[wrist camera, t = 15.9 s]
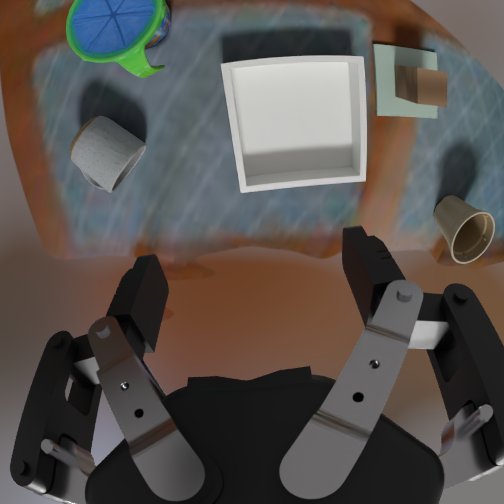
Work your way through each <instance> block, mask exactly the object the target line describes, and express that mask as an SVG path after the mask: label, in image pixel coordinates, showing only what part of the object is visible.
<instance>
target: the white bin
mask: <svg viewBox="0 0 504 504" xmlns="http://www.w3.org/2000/svg"><path fill="white" fill-rule="evenodd" d="M221 69H222V76H223V82H224V88H225V95H226V101H227V108H228V114H229V120H230V127H231V133H232V140H233V146H234V152H235V159H236V165H237V171H238V178H239V184H240V191H241V193H245V192H253V191H262V190H271V189H280V188H289V187H299V186H310V185H321V184H333V183H346V182H361V181H366V152H367V120H366V88H365V71H364V58H363V57H362V56H328V55H324V56H290V57H275V58H263V59H254V60H245V61H237V62H230V63H223V64H221Z"/></svg>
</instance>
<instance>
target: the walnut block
mask: <svg viewBox="0 0 504 504" xmlns="http://www.w3.org/2000/svg"><path fill="white" fill-rule="evenodd" d="M394 72H395V97H398V98H401V99H404V100H407V101H410V102H413V103H416V104H423V105H433V106H441V107H447V73H446V72H441V71H436V70H430V69H423V68H417V67H408V66H398V65H394Z"/></svg>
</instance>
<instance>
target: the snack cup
mask: <svg viewBox="0 0 504 504" xmlns="http://www.w3.org/2000/svg"><path fill="white" fill-rule="evenodd" d="M170 25H171V15H170V11H169V8H168V6H167V4H166V2H165V0H75V1H74V2H73V4H72V6H71V8H70V11H69V14H68V18H67V23H66V34H67V39H68V42H69V44H70V46H71V48H72V49H73V51H74V52H75V53H76V54H77V55H78V56H80V58H81V59H83V60H84V61H91V62H98V63H107V62H117V63H119V64H120V65H121V66H122V67H124V68H125V69H126V70H128V71H129V72H131V73H132V74H134V75H136V76H138V77H140V78H146V77H148V76H150V75H151V74H154V73H155V72H158V71H160V70H161V69H163V68H164V67H165V65H160V66H151V65H150V64H149V62H148V60H147V57H146V54H145V50H146V49H149V48H151V47H153V46H155V45H156V44H157V43H158V42H159V41H161V40H162V39H163V38H164V36H165V35H166V34H167V31H168V29H169V27H170Z"/></svg>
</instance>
